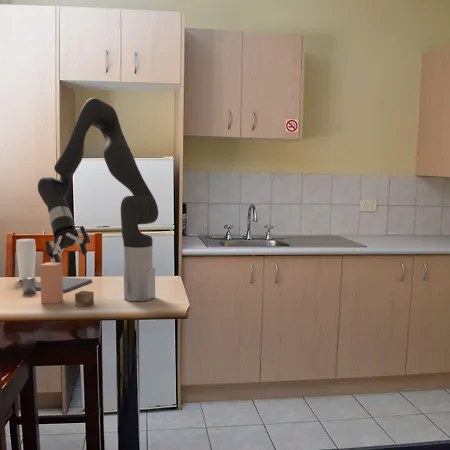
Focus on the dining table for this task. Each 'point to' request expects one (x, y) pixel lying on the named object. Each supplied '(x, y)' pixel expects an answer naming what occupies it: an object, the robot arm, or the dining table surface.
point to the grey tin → (29, 285)
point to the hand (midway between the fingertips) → (72, 259)
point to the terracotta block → (51, 282)
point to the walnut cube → (84, 299)
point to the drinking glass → (26, 257)
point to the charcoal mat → (70, 283)
